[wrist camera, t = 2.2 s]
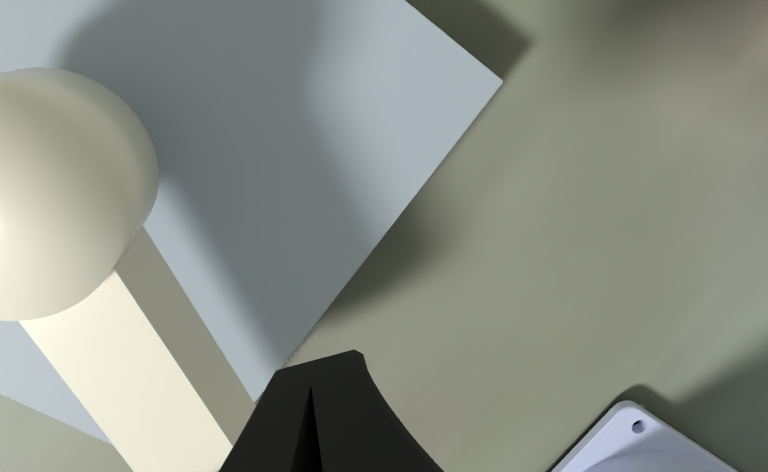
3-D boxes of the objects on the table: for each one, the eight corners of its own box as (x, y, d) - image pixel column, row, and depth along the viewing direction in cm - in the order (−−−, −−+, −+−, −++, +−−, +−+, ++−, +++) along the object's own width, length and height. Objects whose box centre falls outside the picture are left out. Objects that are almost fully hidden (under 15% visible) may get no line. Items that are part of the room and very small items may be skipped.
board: (489, 75, 16) (577, 112, 11) (199, 453, 19) (161, 620, 14) (-62, -377, 12) (-343, -663, 7) (-322, 206, 15) (-650, 316, 10)
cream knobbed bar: (-96, 119, 12) (-207, 152, 9) (89, 32, 12) (30, 42, 9) (171, 478, 16) (144, 574, 13) (314, 417, 16) (316, 500, 13)
